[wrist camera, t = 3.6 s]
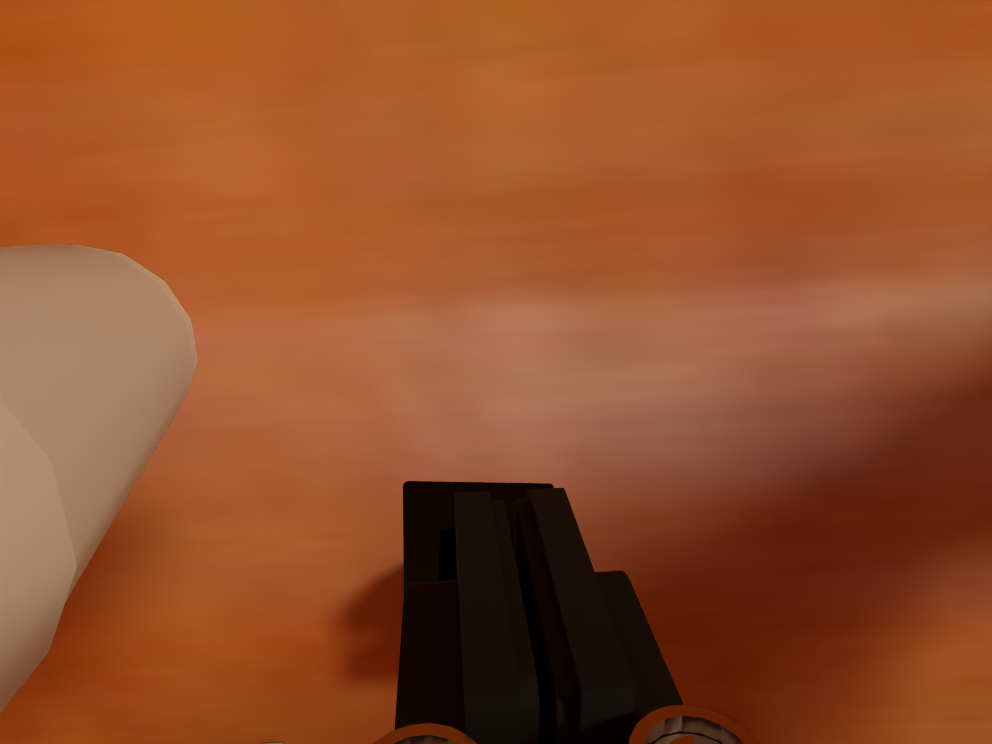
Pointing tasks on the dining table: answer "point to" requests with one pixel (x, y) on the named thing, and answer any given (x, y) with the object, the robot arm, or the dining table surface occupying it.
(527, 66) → the dining table surface
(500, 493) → the black piece
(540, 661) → the robot arm
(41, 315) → the foam cup
